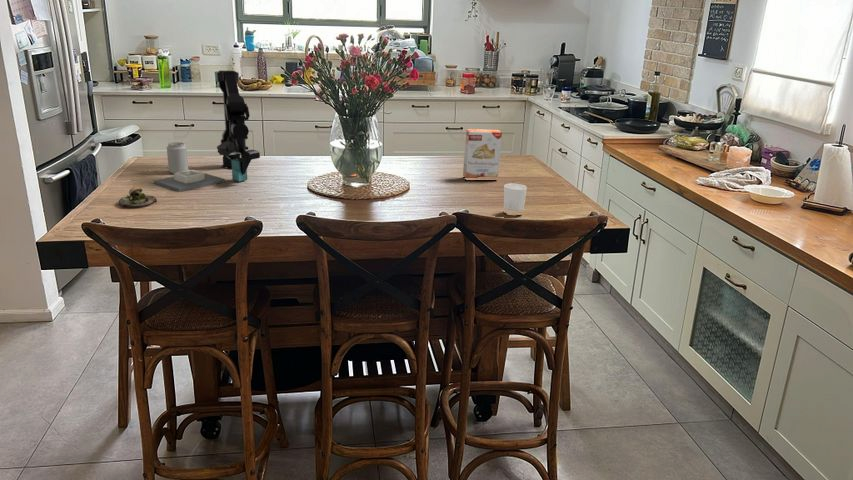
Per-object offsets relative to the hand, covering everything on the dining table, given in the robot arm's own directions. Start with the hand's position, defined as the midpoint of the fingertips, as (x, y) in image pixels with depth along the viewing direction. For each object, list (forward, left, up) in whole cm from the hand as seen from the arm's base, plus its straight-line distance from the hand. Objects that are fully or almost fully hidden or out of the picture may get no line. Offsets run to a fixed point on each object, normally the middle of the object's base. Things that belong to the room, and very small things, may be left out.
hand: (239, 173), depth 258 cm
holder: (+15, -11, -3) cm, 19 cm away
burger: (+43, 0, -4) cm, 43 cm away
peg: (0, 0, -3) cm, 3 cm away
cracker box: (-72, +66, -3) cm, 98 cm away
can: (+9, -27, -3) cm, 29 cm away
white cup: (-40, +100, -3) cm, 108 cm away
